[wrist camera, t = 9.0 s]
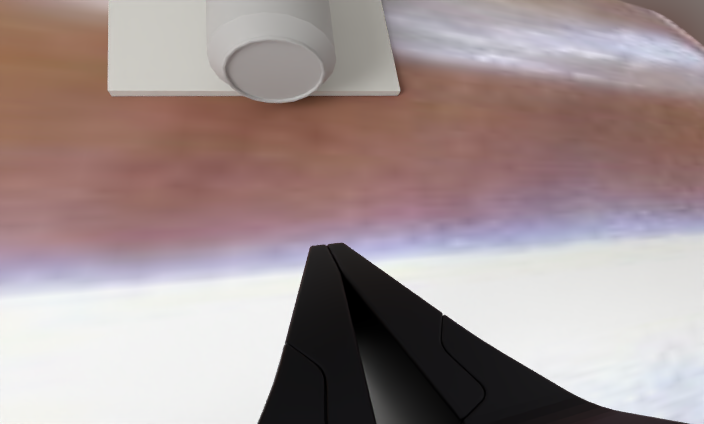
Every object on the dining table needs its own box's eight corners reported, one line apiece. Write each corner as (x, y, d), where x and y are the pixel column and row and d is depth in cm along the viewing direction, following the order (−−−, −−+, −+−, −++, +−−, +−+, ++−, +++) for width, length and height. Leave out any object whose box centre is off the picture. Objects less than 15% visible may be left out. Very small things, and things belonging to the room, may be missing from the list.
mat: (397, 95, 27) (400, 91, 27) (111, 96, 22) (107, 90, 21) (368, -43, 30) (370, -49, 30) (113, -71, 25) (109, -80, 24)
